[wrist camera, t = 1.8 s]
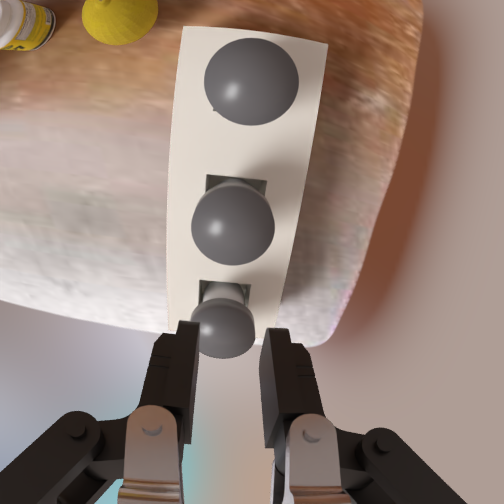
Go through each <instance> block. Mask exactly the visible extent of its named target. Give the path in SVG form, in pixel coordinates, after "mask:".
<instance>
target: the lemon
mask: <svg viewBox="0 0 504 504" xmlns="http://www.w3.org/2000/svg"><path fill="white" fill-rule="evenodd" d="M157 15H158V2H157V0H86V1H85V3H84V6H83V9H82V20H83V24H84V26H85V28H86V30H87V32H88V33H89V34H90V35H91V36H93V37H94V38H95V39H96V40H98V41H100V42H103V43H105V44H110V45H124V44H128V43H131V42H134V41H136V40H138V39H140V38H142V37H143V36H144V35H145V34H147V33H148V32H149V30H150V29H151V28H152V27H153V25H154V23H155V21H156V19H157Z"/></svg>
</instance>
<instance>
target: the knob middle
mask: <svg viewBox="0 0 504 504" xmlns="http://www.w3.org/2000/svg"><path fill="white" fill-rule="evenodd" d="M191 233H192V237H193V240H194V242H195V244H196V246H197V248H198V249H199V250H200V251H201V253H202V254H204V255H205V256H206V257H207V258H209V259H210V260H212V261H214V262H217V263H219V264H223V265H230V266H236V265H243V264H247V263H250V262H252V261H254V260H256V259H257V258H259V257H260V256H261V255H263V254H264V253H265V252H266V250H267V249H268V248H269V246H270V245H271V243H272V240H273V237H274V233H275V222H274V217H273V214H272V210H271V207H270V204H269V202H268V201H267V199H266V198H265V196H264V195H263V194H262V193H261V192H260V191H258V190H257V189H255V188H254V187H252V186H251V185H250V184H249V183H248V182H246V181H244V180H242V179H238V178H229V179H226V180H223V181H221V182H220V183H219V184H217V185H216V186H214V187H213V188H211V189H209V190H208V191H207V192H206V193H205V194H204V195H203V196H202V197H201V198H200V200H199V202H198V203H197V206H196V208H195V211H194V214H193V217H192V222H191Z"/></svg>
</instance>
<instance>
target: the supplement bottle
mask: <svg viewBox="0 0 504 504" xmlns="http://www.w3.org/2000/svg"><path fill="white" fill-rule="evenodd" d="M55 23H56V18H55V15H54V13H53V11H52V10H50V9H49V8H46V7H42V6H39V5H35V4H32V3H28V2H25V1H21V0H5V1H4V0H0V49H4V50H24V51H33V50H36V49H38V48H40V47H42V46H43V45H44V44H45V43H46V42H47V41H48V40H49V38H50V37H51V35H52V33H53V31H54V28H55Z"/></svg>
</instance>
